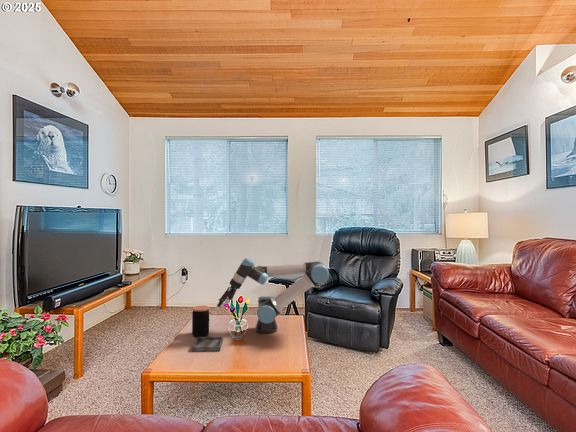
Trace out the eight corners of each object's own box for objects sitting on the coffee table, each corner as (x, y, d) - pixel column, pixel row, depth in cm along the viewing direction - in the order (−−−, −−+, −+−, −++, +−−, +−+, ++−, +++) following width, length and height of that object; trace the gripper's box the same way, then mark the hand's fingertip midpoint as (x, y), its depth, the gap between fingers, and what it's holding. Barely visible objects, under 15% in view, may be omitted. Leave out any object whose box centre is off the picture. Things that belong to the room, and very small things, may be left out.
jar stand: (223, 340, 210) (223, 336, 210) (219, 351, 195) (219, 346, 195) (197, 341, 209) (197, 336, 209) (192, 351, 194) (192, 347, 194)
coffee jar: (211, 332, 224) (211, 305, 224) (205, 338, 213) (206, 310, 213) (195, 331, 225) (195, 305, 225) (189, 337, 215) (189, 309, 214)
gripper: (238, 276, 228) (222, 303, 228) (226, 278, 204) (207, 308, 204) (247, 282, 227) (231, 309, 227) (236, 285, 202) (217, 315, 202)
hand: (220, 309), depth 215 cm, fingers open, 13 cm apart
